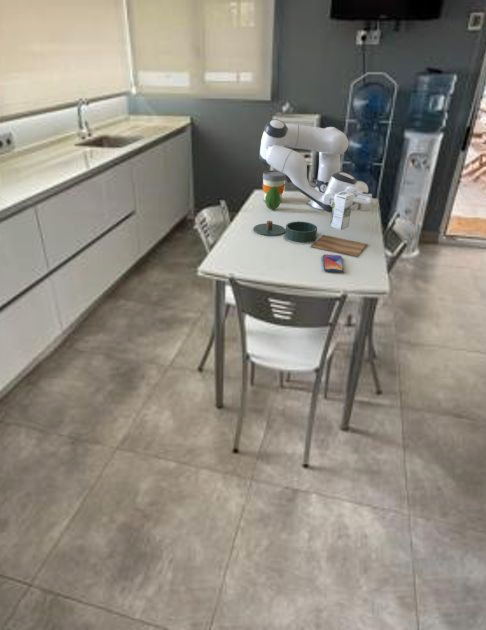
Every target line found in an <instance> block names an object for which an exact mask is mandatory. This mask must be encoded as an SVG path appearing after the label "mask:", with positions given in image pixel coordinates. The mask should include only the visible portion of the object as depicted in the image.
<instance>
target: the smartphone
mask: <svg viewBox="0 0 486 630" xmlns="http://www.w3.org/2000/svg"><path fill="white" fill-rule="evenodd" d="M322 261H323V270H324V272H334V273H343V272H344V270H345V269H344V263H343V257H342V256H341V255H338V254H327V253H326V254H325V253H324V254H323V255H322Z"/></svg>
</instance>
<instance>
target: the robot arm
mask: <svg viewBox="0 0 486 630" xmlns="http://www.w3.org/2000/svg"><path fill="white" fill-rule="evenodd" d="M294 149H299V150H306V151H307V150H308V151H312V152H317V153H318V170H317V171H318V172H317V175H316V176H314V177H312V182H313V183H314V184H315V187H313V186H311V184H310V183H309V181H308V164H307V163H308V162H307V160H306V158H305V156H304V155H303V154H302V153H300V152H298V151H296V150H294ZM347 149H349V140H348V137H347V135H346V133H344V132H343V131H341V130H340V129H339V128H336V127H335V126H326V127H323V128H322V127H318V126H313V125H306V124H300V123H285V122H283V121H282V120H280V119H273V118H272V119H271V120H268V121H267V122H266V124H265V126H264V128H263V133H262V136H261V138H260V146H259V152H258V154H259V155H258V157H259V161H260V162H261V163H262V164H263V165H264V166H269V167H272V168H273V169H274V170H275V171H280V172H282V173H284V174H286V176H287V177H288V178H289V179H290V181H291V185H292V186H293V187H294V188H295V189H296V190H297V191H299V192H300V193H301V194H303V195H304V196H306V197H307V198H309V199H310V200H308V201H307V204H308V205H310V206H311V207H312V208H313V209H314V208H315V209H317V210H321V211H322V210H324V211H325V212H327V213H329V214H332V209H333V203H334V196H335V194H336V193H339V192H342V191H345V192H349V193H352V194H354V197H353V203H352V205H350V207H349V208H350V209H349V210H351V212H353V211H355V210H356V211H361V212H366V213H367V212H370V211H371V207H372V201H373V193H370V192H369V186H368V184H366V182H364V181H362V180H357V179H356V177H355V176H354V175H352V174H350V173H349V172H345V171H341V167H342V161H341V155H343V154H344V153H345V152H346V151H347ZM315 179H316V180H315Z"/></svg>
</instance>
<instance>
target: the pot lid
mask: <svg viewBox="0 0 486 630" xmlns="http://www.w3.org/2000/svg"><path fill="white" fill-rule="evenodd" d="M252 230H253V232H254V233H256V235H260V236H265V237H277V236H281V235H283V234H284V233H286V227H284V226H282V225H279V224H277V223H273V221H272V220H267V221H266V223H259V224H256V225H255V226H254V227H253V229H252Z"/></svg>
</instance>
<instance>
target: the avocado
mask: <svg viewBox="0 0 486 630" xmlns="http://www.w3.org/2000/svg"><path fill="white" fill-rule="evenodd" d="M264 203H265V206H266V207H267V208H268V209H269V210H272V211H274V210H277V209H278V208H280V204H281V201H280V194H279V192H278V189H277V188H276V187H275V186H273V187H271V188H270V189H269V191H268V193H267V195H266V198H265V200H264Z"/></svg>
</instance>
